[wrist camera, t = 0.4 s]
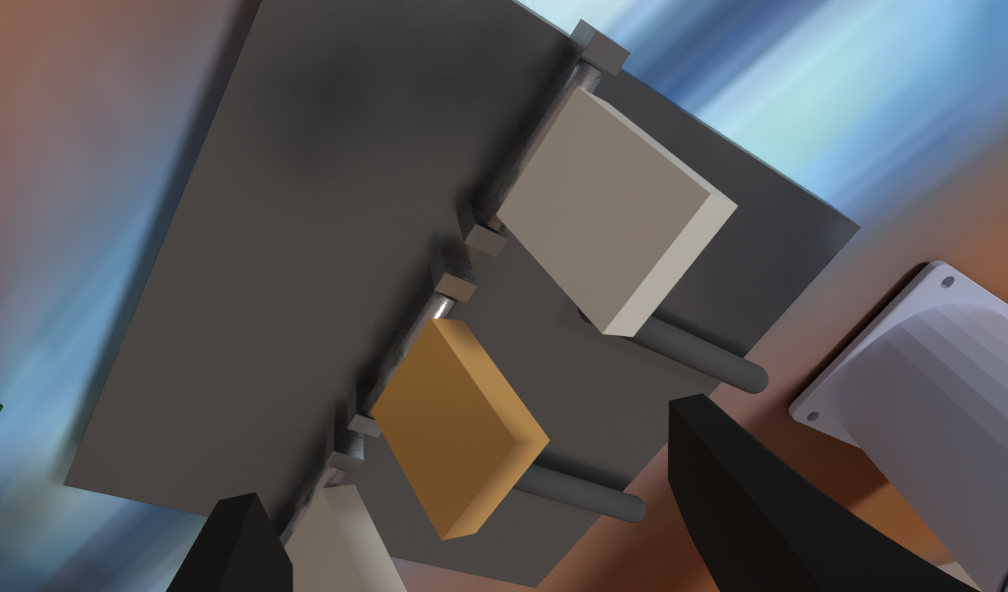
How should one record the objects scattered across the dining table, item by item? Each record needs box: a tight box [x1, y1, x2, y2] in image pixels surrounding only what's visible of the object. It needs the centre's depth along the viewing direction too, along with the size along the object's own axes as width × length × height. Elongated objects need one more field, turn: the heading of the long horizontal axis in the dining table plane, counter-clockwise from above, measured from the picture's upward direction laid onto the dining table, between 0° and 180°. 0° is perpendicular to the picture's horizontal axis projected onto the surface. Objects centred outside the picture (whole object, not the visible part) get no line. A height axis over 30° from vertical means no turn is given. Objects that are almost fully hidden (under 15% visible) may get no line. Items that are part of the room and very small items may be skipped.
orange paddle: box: [371, 318, 550, 541], centre depth 18 cm, size 1×4×4 cm, turn 148°
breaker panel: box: [64, 0, 861, 588], centre depth 21 cm, size 18×20×3 cm
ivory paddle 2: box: [496, 86, 738, 337], centre depth 15 cm, size 1×4×4 cm, turn 148°
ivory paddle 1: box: [284, 484, 407, 592], centre depth 21 cm, size 1×4×4 cm, turn 149°
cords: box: [512, 307, 768, 523], centre depth 23 cm, size 8×8×1 cm
